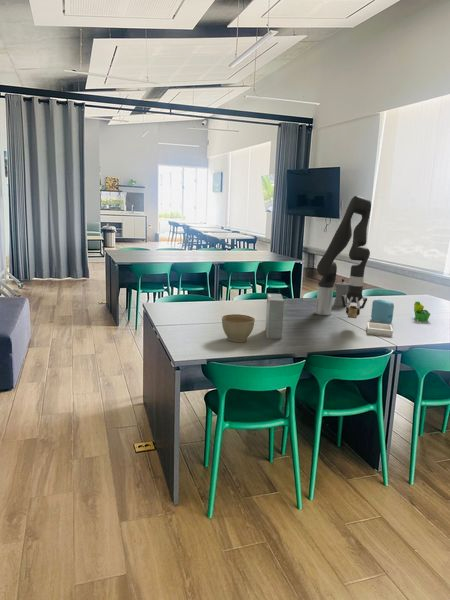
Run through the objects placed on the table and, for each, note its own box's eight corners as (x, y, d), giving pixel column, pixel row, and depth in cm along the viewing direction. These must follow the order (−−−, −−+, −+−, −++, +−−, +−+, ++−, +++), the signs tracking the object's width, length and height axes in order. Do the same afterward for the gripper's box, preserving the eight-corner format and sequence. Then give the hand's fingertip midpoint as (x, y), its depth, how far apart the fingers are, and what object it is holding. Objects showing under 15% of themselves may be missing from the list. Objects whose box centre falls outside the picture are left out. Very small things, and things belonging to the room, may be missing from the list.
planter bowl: (229, 346, 215) (230, 323, 212) (216, 336, 229) (216, 315, 227) (259, 342, 221) (260, 321, 219) (244, 333, 235) (245, 313, 233)
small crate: (347, 317, 247) (348, 308, 246) (348, 314, 255) (349, 305, 254) (356, 318, 246) (357, 309, 245) (356, 315, 254) (357, 306, 252)
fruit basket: (429, 322, 272) (432, 304, 269) (414, 321, 274) (416, 302, 271) (425, 317, 283) (428, 300, 280) (410, 316, 284) (412, 299, 282)
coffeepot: (337, 307, 302) (339, 280, 298) (328, 304, 310) (330, 278, 307) (355, 306, 309) (358, 279, 305) (346, 303, 317) (348, 277, 313)
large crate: (367, 333, 243) (367, 328, 242) (366, 327, 256) (367, 322, 255) (392, 336, 240) (392, 331, 239) (390, 329, 252) (391, 324, 252)
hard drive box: (265, 329, 244) (267, 293, 239) (279, 330, 244) (281, 293, 239) (266, 338, 229) (269, 299, 224) (282, 339, 228) (284, 300, 224)
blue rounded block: (392, 323, 267) (394, 303, 265) (387, 324, 265) (389, 303, 262) (375, 318, 277) (377, 299, 275) (370, 319, 275) (372, 299, 272)
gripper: (369, 284, 248) (366, 314, 252) (342, 281, 252) (339, 311, 256) (369, 286, 241) (365, 318, 245) (341, 284, 245) (338, 314, 249)
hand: (352, 314), depth 250 cm, fingers closed on small crate, 4 cm apart
